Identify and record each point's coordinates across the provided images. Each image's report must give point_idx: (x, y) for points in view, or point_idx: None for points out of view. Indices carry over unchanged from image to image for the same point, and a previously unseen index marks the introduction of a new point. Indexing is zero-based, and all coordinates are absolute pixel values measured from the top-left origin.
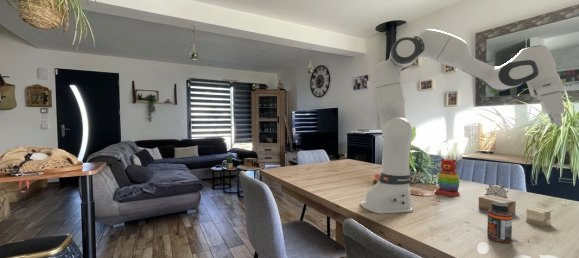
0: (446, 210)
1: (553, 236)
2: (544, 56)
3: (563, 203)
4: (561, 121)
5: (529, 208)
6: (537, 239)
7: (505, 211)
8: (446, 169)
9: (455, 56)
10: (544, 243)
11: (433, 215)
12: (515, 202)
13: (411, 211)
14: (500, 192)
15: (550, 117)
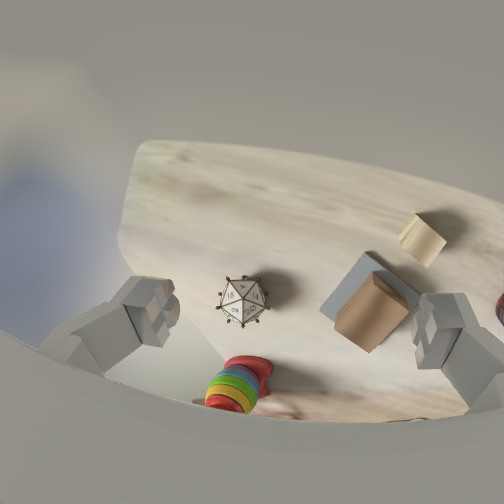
0: (388, 380)
1: (461, 219)
2: None
3: (169, 157)
4: (474, 320)
5: (422, 262)
6: (488, 249)
7: None
8: None
9: None
10: (500, 242)
11: (429, 393)
12: (373, 283)
13: (423, 419)
14: (257, 298)
15: (130, 348)
